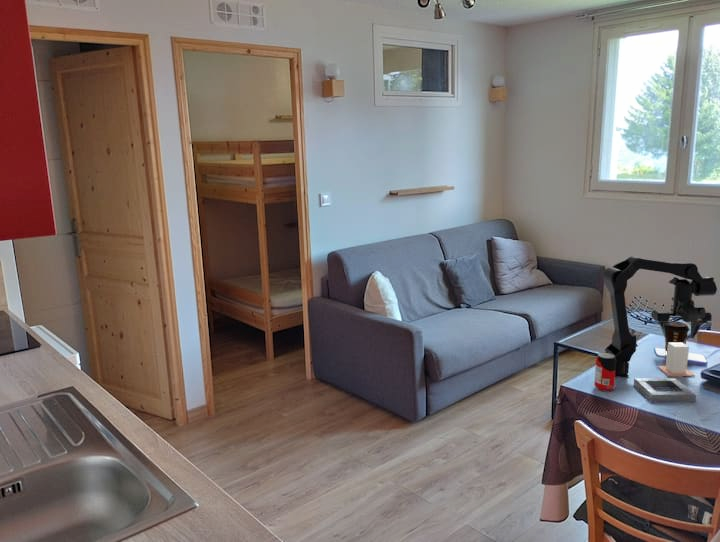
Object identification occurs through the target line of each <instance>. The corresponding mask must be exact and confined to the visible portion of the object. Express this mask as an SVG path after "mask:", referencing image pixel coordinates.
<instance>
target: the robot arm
mask: <svg viewBox="0 0 720 542" xmlns="http://www.w3.org/2000/svg"><path fill="white" fill-rule="evenodd" d="M639 270H646V271H652V272H653V271H654V272H660V273H667V274H671V275H674V277H673V278H672V279H671V280H669V281H668V283H669V284H671V285H673V286H674V288H673V289H674V291H673V296H672V297H671V300H672V301H673V302H672V307H671V308H670V311H671V312H668V311H666V310H665V309H652V311H651V313H650V314H651V315H650V317H651V318H652V319H654V320H655V321H657V322H658V324H659V326H660V328H661V331H662V333H663V334H662V335H663V337H664V339H665V338H666V339H667V337H668V325H669V323H670V322H671V321H669V320H670V319H681V318H682V320H683V322H684V323H690V338H691V339H695V336H696V334H697V333H698V331H699V329H700V328H701V326H702V325H704V324H707V323H708V322H712V319H713V315H712V313H711V312H709V311H707V310H706V308H705V307H702V306H700V307H695V302H694V300H693V295H694V296H695V297H708V296H709V297H711V296H713V297H714V296H715V295H716V294H717V290H718V287H717V283H716V282H715V280H714V279H715V278H714V277H713V276H703V277H702V275H701V273H700V272H699V269H698V266H697V264H695V263H692V262H689V261H687V260H682V259H681V260H669V261H668V260H667V261H666V260H658V259H651V258H645V257H639V256H638V257H637V256H635V255H632V256H629V257H628V258H626V259H625V260H623V261H619V262H618V263H616V264H615V265H613V266H611V267H607V268H606V269H605V270H604V271H603V272H602V279H603V281H604V285H605V287H606V289H607V291H608V292H609V296H610V297H609V298H610V303H611V312H612V319H613V327H614V331H613V334H612V336H611V343H610V344H608V346H606V348H604V351H605V352H604V353H610V354H613V355H614V356H615V357H614V358H615V360H616V371H615V378H629V377H630V376H629V370H630V369H629V368H630V361H631V359H632V357H633V355H634V353H636V351H637V347H638V343H637V335H635V334H634V333H632V332H630V327H629V320H628V319H629V318H628V313H627V306H626V297H625V292H626V289H627V287H628V281H629V280H630V279H631V278H633V276H634V275H635V274H636V273H637V271H639ZM678 277H680V279H679V278H678Z"/></svg>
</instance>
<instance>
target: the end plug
mask: <svg viewBox="0 0 720 542" xmlns="http://www.w3.org/2000/svg"><path fill="white" fill-rule="evenodd" d="M689 351H690V347H689V345H687V344H686V345H685V344H684V343H682V342H668V347H667V356H666V359H665V361H666V363H665V366H666V369H667V370H669V371H670V372H671V373H686V371H687V370H688V359H689Z"/></svg>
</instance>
